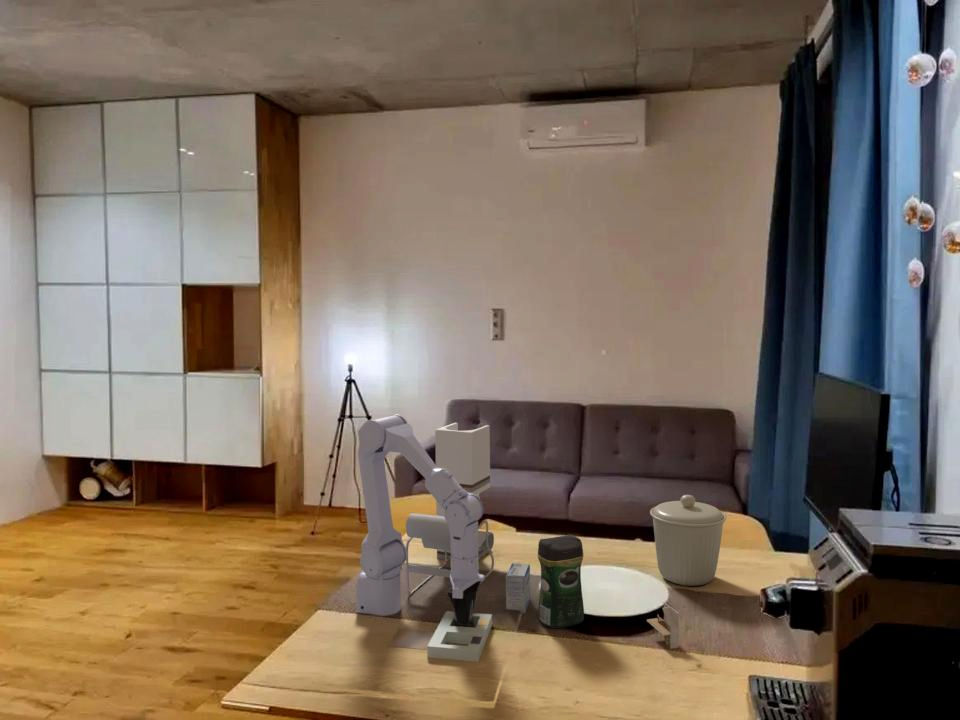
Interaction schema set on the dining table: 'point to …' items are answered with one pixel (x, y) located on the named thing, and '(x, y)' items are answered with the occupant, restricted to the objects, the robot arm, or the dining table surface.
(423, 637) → the brown square tile
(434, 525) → the chair
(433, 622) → the dining table surface
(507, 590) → the medicine box
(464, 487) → the tall white box
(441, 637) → the port box
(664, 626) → the architectural model
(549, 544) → the coffee jar
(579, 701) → the dining table surface
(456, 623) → the plug
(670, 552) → the canister
